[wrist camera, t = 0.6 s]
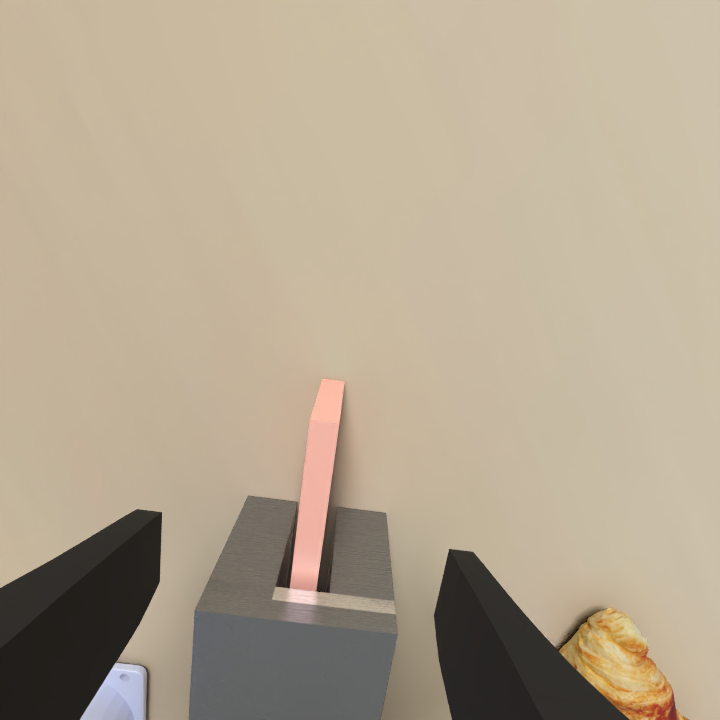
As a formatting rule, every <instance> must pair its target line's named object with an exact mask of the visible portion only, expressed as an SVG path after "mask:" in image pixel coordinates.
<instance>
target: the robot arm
mask: <svg viewBox="0 0 720 720" xmlns="http://www.w3.org/2000/svg"><path fill="white" fill-rule="evenodd" d="M161 526H162V512H155V511H147V510H139V509H137V510H135V511H133V512H131V513H130V514H128V515H126V516H124V517H123V518H121V519H119V520H118V521H116V522H114V523H113V524H111V525H109V526H108V527H106V528H104V529H103V530H101V531H100V532H98V533H96V534H95V535H93V536H91V537H90V538H88V539H86V540H85V541H83V542H81V543H80V544H78V545H76V546H75V547H73V548H71V549H69V550H68V551H66V552H64V553H63V554H61V555H59V556H58V557H56V558H54V559H53V560H51V561H49V562H47V563H45V564H44V565H42V566H40V567H38V568H36V569H34V570H33V571H31V572H29V573H27V574H25V575H23V576H22V577H20V578H18V579H16V580H14V581H12V582H11V583H9V584H7V585H5V586H3V587H2V588H0V720H146V694H147V672H146V670H145V668H144V667H142V666H139V665H132V664H123V663H116V661H117V660H118V658H119V656H120V655H121V653H122V652H123V650H124V648H125V647H126V645H127V644H128V642H129V640H130V639H131V637H132V635H133V634H134V632H135V631H136V629H137V627H138V626H139V624H140V622H141V620H142V618H143V616H144V614H145V612H146V610H147V608H148V606H149V603H150V601H151V599H152V597H153V595H154V593H155V591H156V589H157V586H158V584H159V582H160V555H161ZM434 619H435V629H436V639H437V647H438V655H439V662H440V667H441V672H442V676H443V681H444V685H445V690H446V694H447V699H448V703H449V708H450V712H451V717H452V720H630V719H629V718H627V717H626V716H625V715H624V714H623V713H622V712H621V711H620V710H618V709H617V708H616V707H615V706H614V705H613V704H612V703H611V702H610V701H609V700H608V699H607V698H606V697H604V696H603V695H602V694H601V693H600V692H599V691H598V690H597V689H596V688H595V687H594V686H593V685H592V684H591V683H590V682H588V681H587V680H586V679H585V678H584V677H583V676H582V675H581V674H580V673H579V672H578V671H577V670H576V669H575V668H574V667H573V666H572V665H571V664H570V663H569V662H568V661H567V660H566V659H565V658H564V656H563V655H562V654H561V653H560V652H559V651H558V650H557V649H556V648H555V647H554V646H553V645H552V644H551V643H550V642H549V641H548V640H547V639H546V637H545V636H544V635H543V634H542V633H541V632H540V631H539V630H538V629H537V627H536V626H535V625H534V624H533V623H532V622H531V621H530V620H529V618H528V617H527V616H526V615H525V614H524V613H523V611H522V610H521V609H520V608H519V607H518V606H517V604H516V603H515V602H514V601H513V600H512V598H511V597H510V596H509V595H508V594H507V592H506V591H505V590H504V589H503V588H502V586H501V585H500V584H499V583H498V582H497V580H496V579H495V578H494V577H493V575H492V574H491V573H490V572H489V570H488V569H487V568H486V567H485V566H484V564H483V563H482V562H481V561H480V560H479V558H478V557H477V556H476V555H475V554H474V552H469V551H461V550H453V549H449V553H448V557H447V561H446V566H445V570H444V574H443V579H442V583H441V587H440V592H439V596H438V601H437V605H436V609H435V614H434Z"/></svg>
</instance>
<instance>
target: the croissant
mask: <svg viewBox="0 0 720 720" xmlns="http://www.w3.org/2000/svg"><path fill="white" fill-rule="evenodd" d="M648 650H649V649H648V646H647V638H645V637H643V636H642V634H641V633H640V632H639V630H638V629H637V627H636V626H635V625H634V623H633V622H632V620H631V619H630V618H629V617H628V616H627V615H626V614H625V613H624V612H618V611H616V610H615V609H613V608H611V607H610V608H607V609H605V610H602V611H598V612H597V613H595V614H594V615H592V616H591V617H589V618H588V619H587V622H586V623H584V624H582V625H581V626H580V628H579V630H578V631H577V632H576V633H575V635H574V636H573V637H572V638H571V640H570V641H568V642H567V643H566V644H565V645H564V646H563V647H562V648H561V649H560V651H559V652H560V653H561V654H562V655H563V656H564V658H565V659H566V660H567V661H568V662H569V663H570V664H571V665H572V666H573V667H574V668H575V669H576V670H577V671H578V672H579V673H580V674H581V675H582V676H583V677H584V678H585V679H586V680H587V681H588V682H590V683H591V684H592V685H593V686H594V687H595V688H596V689H597V690H598V691H599V692H600V693H601V694H602V695H603V696H604V697H606V698H607V699H608V700H609V701H610V702H611V703H612V704H613V705H614V706H615V707H616V708H617V709H618V710H620V711H621V712H622V713H623V714H624V715H625V716H626V717H627V718H629V719H630V720H689V719H687V718H685V717H684V716H682V715H681V714H680V713H679V712H678V710H677V709H676V708H675V701H674V695H673V690H672V688H671V685H670V684H669V682H668V681H667V679H666V678H665V676H664V675H663V674H662V673H661V671H660V670H659V669H657V667H656V665H655V663H654V662H653V661H652V659H650V658H648V657H647V656H646V655H647V653H648Z"/></svg>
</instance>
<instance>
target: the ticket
mask: <svg viewBox="0 0 720 720" xmlns="http://www.w3.org/2000/svg"><path fill="white" fill-rule="evenodd" d="M344 383H345V381H337V380H330V379H322V382H321V385H320V389H319V392H318V395H317V398H316V402H315V405H314V408H313V411H312V414H311V418H310V423H309V431H308V440H307V448H306V457H305V465H304V473H303V482H302V490H301V498H300V507H299V515H298V523H297V532H296V540H295V548H294V557H293V565H292V574H291V582H290V588H291V589H299V590H308V591H316V588H317V581H318V574H319V567H320V560H321V552H322V545H323V538H324V531H325V523H326V516H327V509H328V502H329V495H330V487H331V480H332V473H333V466H334V458H335V451H336V444H337V437H338V430H339V422H340V414H341V407H342V399H343V391H344Z"/></svg>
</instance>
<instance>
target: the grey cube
mask: <svg viewBox="0 0 720 720" xmlns="http://www.w3.org/2000/svg"><path fill="white" fill-rule="evenodd" d="M296 507H297V502H293V501H285V500H278V499H270V498H262V497H254V496H248V497H247V499H246V502H245V504H244V506H243V508H242V510H241V512H240V514H239V517H238V519H237V521H236V523H235V525H234V527H233V529H232V532H231V534H230V536H229V538H228V540H227V542H226V544H225V547H224V549H223V551H222V553H221V555H220V557H219V559H218V562H217V564H216V566H215V568H214V570H213V572H212V574H211V577H210V579H209V581H208V583H207V585H206V587H205V590H204V592H203V594H202V596H201V598H200V600H199V602H198V605H197V607H196V609H195V615H194V633H193V652H192V670H191V689H190V707H189V720H380V718H381V713H382V709H383V704H384V699H385V694H386V689H387V684H388V679H389V674H390V669H391V664H392V659H393V654H394V649H395V644H396V639H397V624H396V613H395V603H394V592H393V582H392V571H391V561H390V550H389V540H388V529H387V519H386V513H381V512H373V511H365V510H357V509H349V508H341V507H338V508H337V515H336V522H335V529H334V536H333V543H332V550H331V557H330V563H329V570H328V577H327V584H326V591H325V593H324V592H316V591H308V590H299V589H291V588H287V584H288V575H289V567H290V558H291V550H292V541H293V533H294V524H295V516H296Z"/></svg>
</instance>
